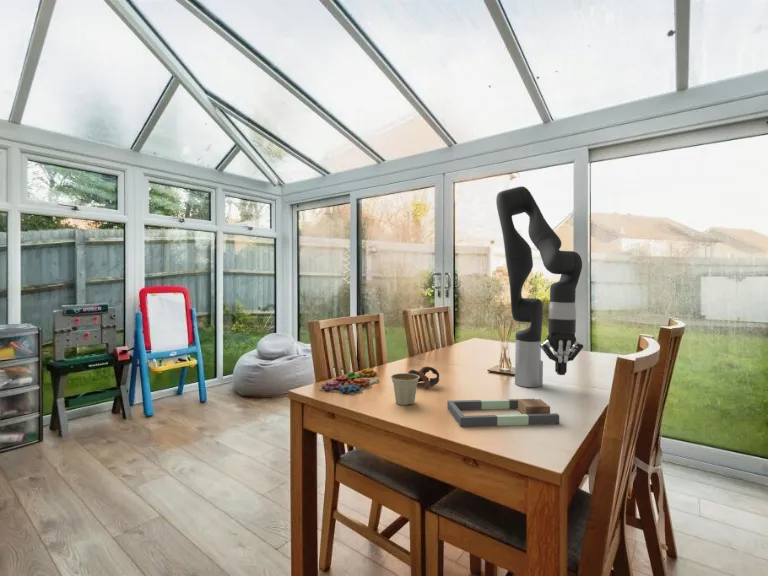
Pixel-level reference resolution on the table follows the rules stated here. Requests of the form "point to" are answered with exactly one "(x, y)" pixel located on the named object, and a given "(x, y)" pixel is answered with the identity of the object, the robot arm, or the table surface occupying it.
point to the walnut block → (533, 406)
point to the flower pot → (405, 387)
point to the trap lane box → (495, 419)
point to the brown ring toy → (424, 378)
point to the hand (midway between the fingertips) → (560, 374)
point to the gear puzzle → (351, 382)
